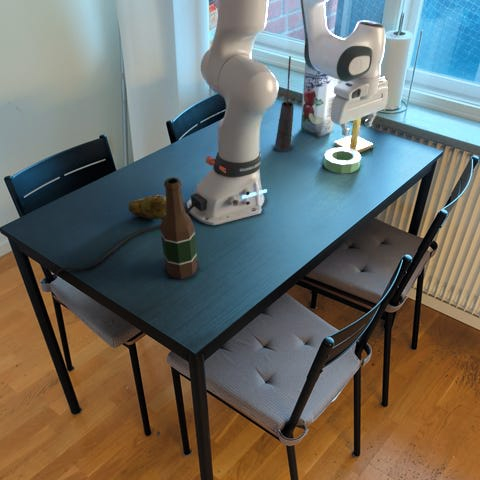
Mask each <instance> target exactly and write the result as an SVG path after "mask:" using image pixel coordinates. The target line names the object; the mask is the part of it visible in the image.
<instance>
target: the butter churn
mask: <svg viewBox="0 0 480 480" xmlns="http://www.w3.org/2000/svg"><path fill="white" fill-rule="evenodd" d="M291 61H292V56H291V55H289V56H288V68H287V70H288V71H287V88H286V90H287V91H286V101H282V102H281V105H280V106H281V107H280V112H279V119H278V125H277V132H276V137H275V144H274V148H275V150H276V151H279V152H286V151H289V150H290V149H292V148H291V147H292V136H293V135H292V134H293V131H292V130H293V122H294V107H295V106H294V102H292V101H289V99H290V97H289V95H290V94H289V93H290V79H291V78H290V77H291V76H290V75H291V63H292V62H291Z"/></svg>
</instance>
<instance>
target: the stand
mask: <svg viewBox="0 0 480 480" xmlns="http://www.w3.org/2000/svg"><path fill="white" fill-rule="evenodd" d="M361 122H362V117H361V118H358V119H355V120H353V121H352V125H351V133H350V135H349V136H345V137H344V138H343V137H342V138H340V139H338V140H335V141H333V145H334V146H335V147H336V148H342V147H343V148H349V149H353V150H355V151H357V152H359V153H362V152H364V151H367V150H370V149H372V148H374V144H373V143H372V142H370V141H368V140H366V139H364V138H362V137H360V136H359V135H360V129H361Z"/></svg>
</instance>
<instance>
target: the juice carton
mask: <svg viewBox="0 0 480 480" xmlns="http://www.w3.org/2000/svg"><path fill="white" fill-rule="evenodd" d="M303 76H304V78H303V88H302V89H303V91H302V103H301V104H302V105H301V119H300V120H301V121H300V128H301V130H302V131H304V132H306V133H308V134H310V135H312V136H314V137H316V138H321V137H323V136H325V135H328V134H330V133H332V132H333V130H334V125H335V123H334V122H332V120H331V108H332V102H333V99H334V97H335V96H336V94H334V88H335V86H336V85H338V84H339V83H340V80H338V79H335V78H333V77H330V76H328V75H326V74H323V73H321V72H317V71H314V70H311V69H310V68H309V67H308V66H307V64H306V62H305V61H304V75H303Z"/></svg>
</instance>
